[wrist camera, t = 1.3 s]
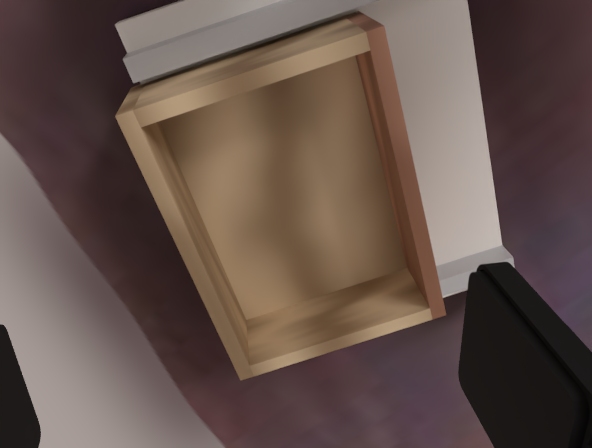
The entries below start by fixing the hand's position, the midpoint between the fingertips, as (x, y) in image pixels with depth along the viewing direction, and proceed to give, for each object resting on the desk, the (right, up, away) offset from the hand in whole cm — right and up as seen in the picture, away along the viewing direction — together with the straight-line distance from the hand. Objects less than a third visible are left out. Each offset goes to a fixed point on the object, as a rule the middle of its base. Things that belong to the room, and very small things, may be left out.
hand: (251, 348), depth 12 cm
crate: (+1, +5, +21) cm, 21 cm away
